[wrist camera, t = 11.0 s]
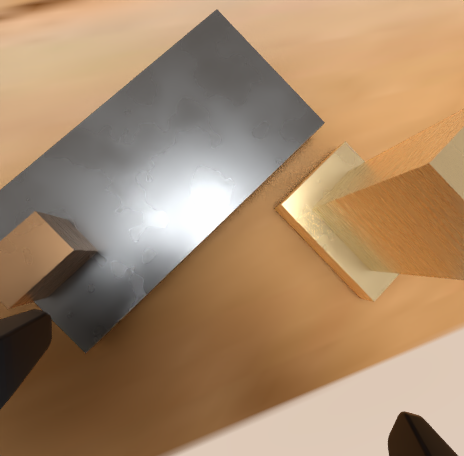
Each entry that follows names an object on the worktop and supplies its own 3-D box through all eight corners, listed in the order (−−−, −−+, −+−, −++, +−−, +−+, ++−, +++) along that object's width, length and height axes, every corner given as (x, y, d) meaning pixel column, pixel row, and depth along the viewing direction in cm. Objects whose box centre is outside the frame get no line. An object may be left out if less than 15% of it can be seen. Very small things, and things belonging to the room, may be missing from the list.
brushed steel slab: (98, 341, 16) (56, 379, 11) (-13, 228, 16) (-105, 217, 11) (310, 136, 18) (352, 94, 14) (214, 35, 18) (221, -45, 13)
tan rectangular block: (359, 297, 18) (557, 350, 8) (274, 208, 18) (370, 153, 8) (415, 236, 19) (659, 217, 9) (333, 150, 19) (489, 33, 9)
